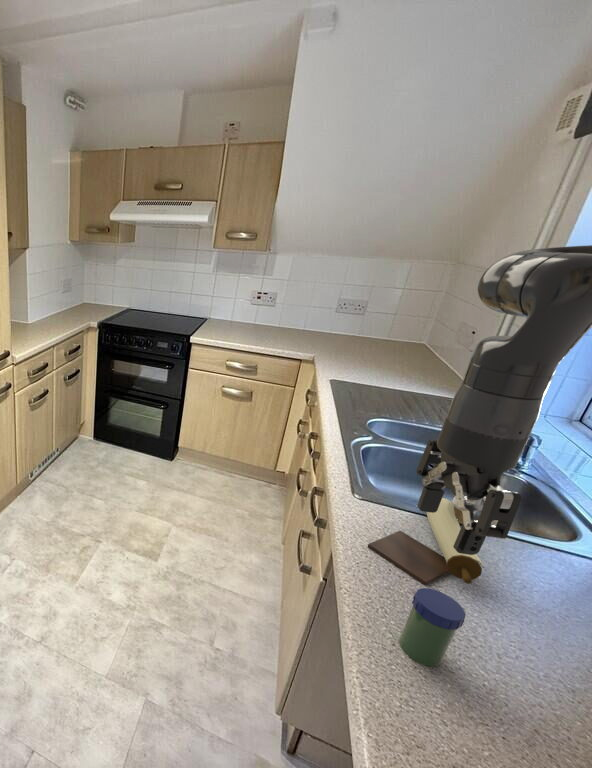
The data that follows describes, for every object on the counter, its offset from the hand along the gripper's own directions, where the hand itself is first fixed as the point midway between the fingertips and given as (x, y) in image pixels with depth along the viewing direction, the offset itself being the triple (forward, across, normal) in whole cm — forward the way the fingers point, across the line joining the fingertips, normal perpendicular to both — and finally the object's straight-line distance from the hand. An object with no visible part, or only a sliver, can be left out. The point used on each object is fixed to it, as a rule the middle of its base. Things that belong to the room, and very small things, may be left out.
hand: (443, 529), depth 56 cm
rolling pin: (+25, +32, -24) cm, 46 cm away
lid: (+15, +2, -5) cm, 16 cm away
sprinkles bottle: (+25, +42, -32) cm, 58 cm away
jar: (+25, +2, -5) cm, 26 cm away
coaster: (+25, +25, -14) cm, 38 cm away
